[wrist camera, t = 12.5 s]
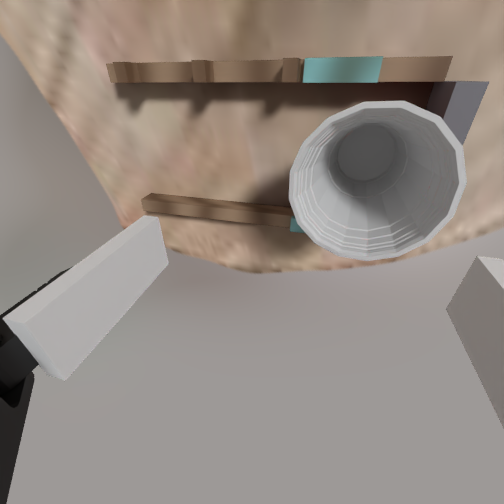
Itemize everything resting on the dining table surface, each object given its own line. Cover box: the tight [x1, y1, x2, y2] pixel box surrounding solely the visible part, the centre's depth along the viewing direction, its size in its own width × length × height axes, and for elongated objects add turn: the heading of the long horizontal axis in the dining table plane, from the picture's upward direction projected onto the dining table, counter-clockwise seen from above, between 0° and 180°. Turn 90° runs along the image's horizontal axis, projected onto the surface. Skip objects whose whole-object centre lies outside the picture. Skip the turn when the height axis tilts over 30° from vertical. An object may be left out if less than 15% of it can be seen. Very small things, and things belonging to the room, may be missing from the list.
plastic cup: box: [289, 101, 467, 261], centre depth 22 cm, size 11×11×12 cm
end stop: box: [426, 81, 489, 146], centre depth 24 cm, size 2×13×5 cm, turn 0°
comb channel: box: [106, 56, 453, 233], centre depth 28 cm, size 31×16×4 cm, turn 90°
